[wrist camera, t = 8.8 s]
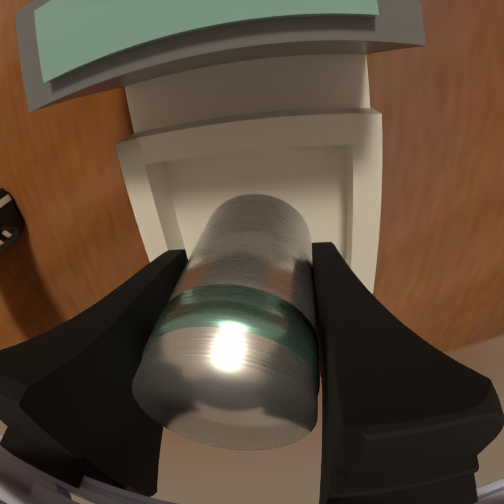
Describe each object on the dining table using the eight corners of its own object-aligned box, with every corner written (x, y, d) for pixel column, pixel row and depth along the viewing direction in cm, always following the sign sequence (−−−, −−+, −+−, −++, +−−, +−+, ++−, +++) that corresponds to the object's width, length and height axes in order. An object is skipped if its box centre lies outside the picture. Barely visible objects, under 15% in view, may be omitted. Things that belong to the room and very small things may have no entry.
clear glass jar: (316, 282, 13) (320, 450, 7) (218, 290, 13) (171, 443, 8) (306, 186, 10) (317, 355, 5) (191, 200, 11) (96, 352, 5)
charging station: (351, -22, 8) (402, -92, 2) (361, 294, 15) (381, 404, 10) (120, 16, 9) (6, 6, 4) (187, 299, 17) (148, 398, 11)
